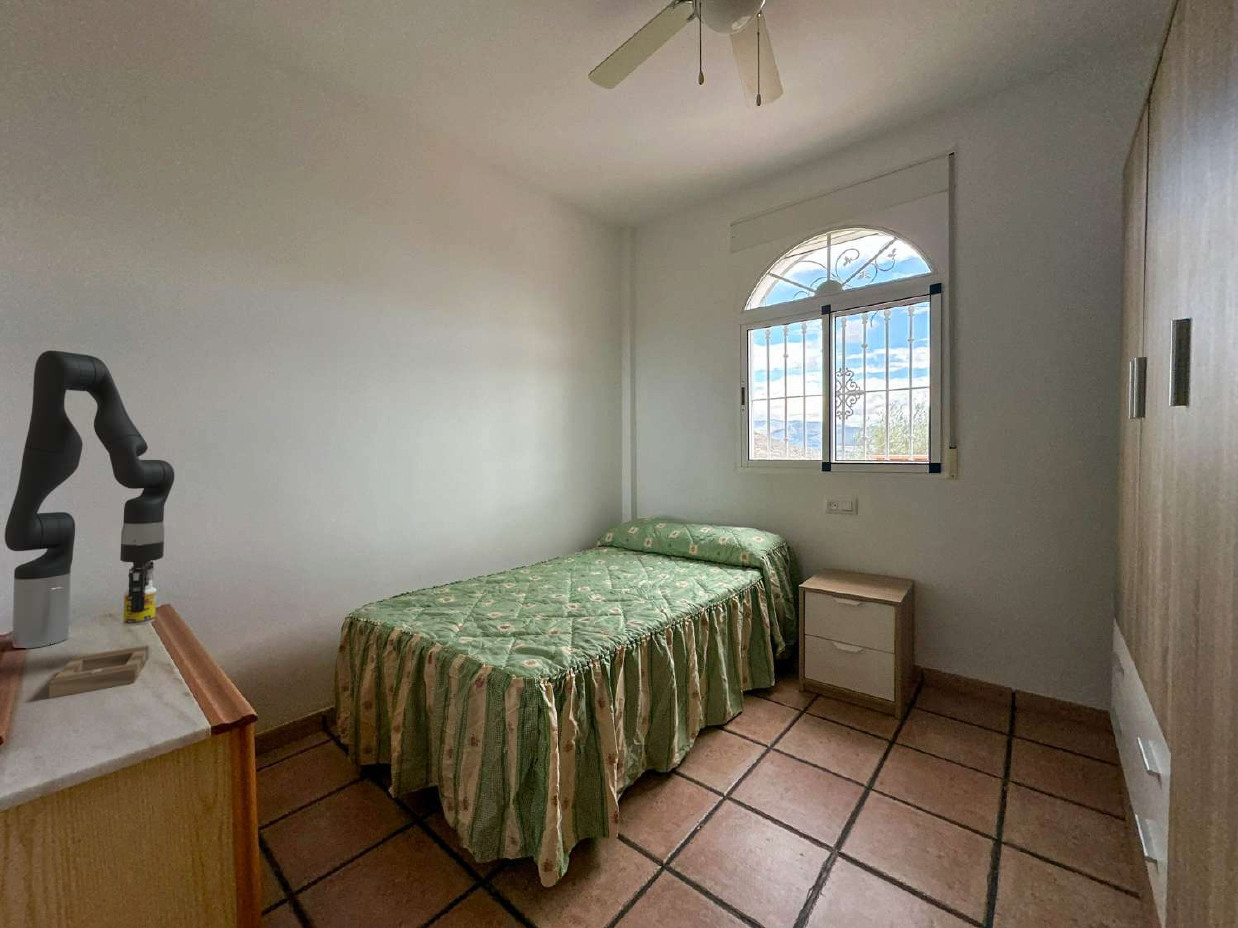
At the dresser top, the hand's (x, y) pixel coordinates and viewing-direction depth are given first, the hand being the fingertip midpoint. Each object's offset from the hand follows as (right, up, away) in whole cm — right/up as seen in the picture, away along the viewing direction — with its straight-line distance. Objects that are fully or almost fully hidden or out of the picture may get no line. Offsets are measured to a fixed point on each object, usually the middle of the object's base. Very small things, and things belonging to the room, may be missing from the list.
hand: (139, 608), depth 117 cm
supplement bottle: (0, -4, 0) cm, 4 cm away
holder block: (+5, -11, -13) cm, 18 cm away
